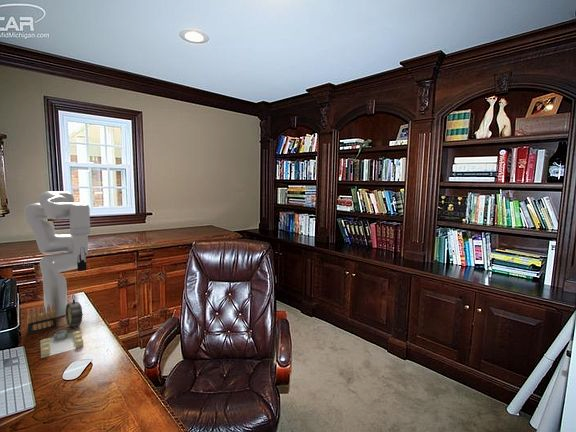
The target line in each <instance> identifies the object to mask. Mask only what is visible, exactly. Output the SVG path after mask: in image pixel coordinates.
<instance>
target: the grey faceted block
mask: <svg viewBox="0 0 576 432" xmlns="http://www.w3.org/2000/svg"><path fill="white" fill-rule="evenodd" d="M68 333H69V331H68V330H65V329H62V330H58V331H56V332H55V333H54V334H53V337H54V340H57V341H59V340H63V339H66V338H67V337H68Z"/></svg>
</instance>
